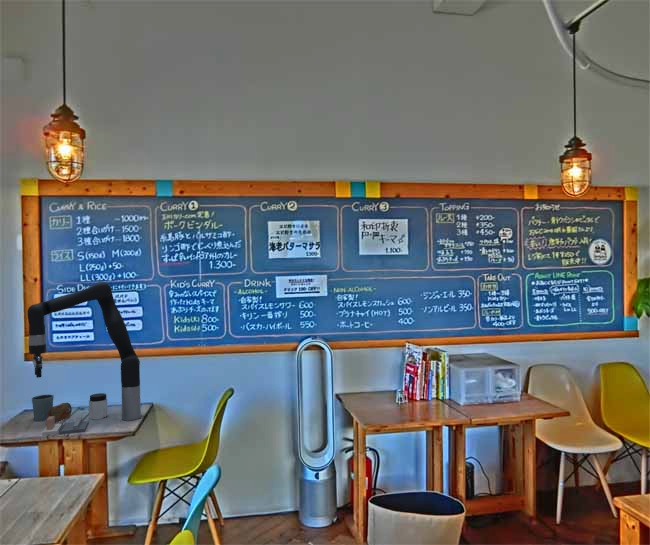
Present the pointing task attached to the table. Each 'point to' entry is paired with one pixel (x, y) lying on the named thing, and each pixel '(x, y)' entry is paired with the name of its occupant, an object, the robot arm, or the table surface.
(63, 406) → the tin
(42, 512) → the table surface
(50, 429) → the white plate with block
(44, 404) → the blue pot
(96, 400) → the jar
